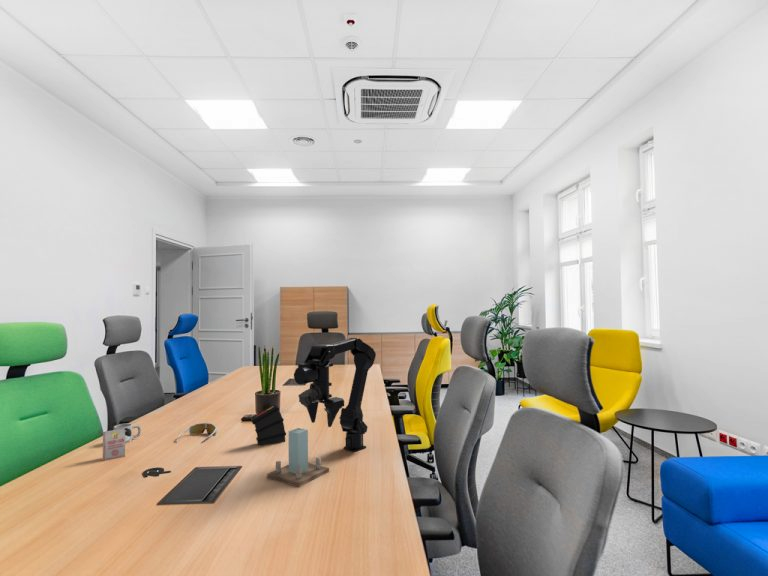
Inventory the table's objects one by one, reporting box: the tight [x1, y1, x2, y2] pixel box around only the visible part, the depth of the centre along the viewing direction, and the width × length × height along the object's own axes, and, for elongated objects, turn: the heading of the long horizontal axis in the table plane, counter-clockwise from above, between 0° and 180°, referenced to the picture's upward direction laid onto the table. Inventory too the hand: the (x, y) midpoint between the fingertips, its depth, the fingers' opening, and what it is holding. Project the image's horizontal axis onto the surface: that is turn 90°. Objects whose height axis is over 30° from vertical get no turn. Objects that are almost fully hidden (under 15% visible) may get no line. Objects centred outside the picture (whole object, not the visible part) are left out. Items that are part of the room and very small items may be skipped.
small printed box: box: [102, 428, 126, 461], centre depth 159 cm, size 4×7×10 cm, turn 128°
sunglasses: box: [176, 422, 218, 444], centre depth 181 cm, size 14×15×5 cm
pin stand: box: [266, 457, 330, 488], centre depth 139 cm, size 14×14×5 cm
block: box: [288, 427, 309, 474], centre depth 139 cm, size 4×4×13 cm
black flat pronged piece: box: [142, 466, 172, 478], centre depth 142 cm, size 9×8×1 cm
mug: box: [113, 423, 142, 444], centre depth 179 cm, size 10×7×7 cm, turn 131°
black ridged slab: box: [250, 403, 287, 446], centre depth 173 cm, size 4×13×15 cm, turn 114°
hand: (321, 424), depth 150 cm, fingers open, 9 cm apart
